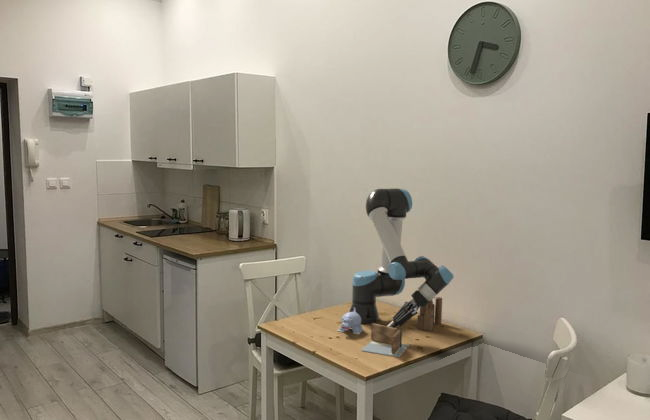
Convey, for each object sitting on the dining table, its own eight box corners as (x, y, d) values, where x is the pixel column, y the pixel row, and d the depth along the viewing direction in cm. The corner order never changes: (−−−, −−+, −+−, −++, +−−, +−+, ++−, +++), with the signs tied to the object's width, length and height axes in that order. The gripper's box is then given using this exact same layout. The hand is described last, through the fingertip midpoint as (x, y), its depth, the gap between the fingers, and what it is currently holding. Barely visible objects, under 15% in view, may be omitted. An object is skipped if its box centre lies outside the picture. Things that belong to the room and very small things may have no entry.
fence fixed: (390, 355, 216) (391, 336, 215) (398, 346, 226) (398, 328, 225) (394, 355, 215) (395, 337, 214) (401, 347, 225) (402, 329, 224)
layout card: (361, 351, 220) (361, 350, 220) (372, 340, 233) (372, 339, 233) (399, 357, 213) (399, 356, 213) (408, 345, 227) (408, 344, 227)
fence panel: (396, 344, 226) (397, 328, 225) (395, 345, 225) (396, 329, 224) (372, 338, 233) (372, 323, 232) (371, 339, 232) (371, 323, 231)
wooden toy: (430, 331, 247) (432, 278, 245) (416, 328, 251) (418, 276, 249) (442, 323, 260) (444, 272, 258) (429, 321, 264) (431, 271, 262)
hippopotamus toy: (332, 335, 239) (333, 314, 238) (343, 325, 253) (344, 306, 252) (356, 338, 236) (356, 317, 235) (365, 328, 250) (366, 308, 249)
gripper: (433, 305, 226) (393, 344, 226) (424, 297, 239) (386, 334, 238) (422, 293, 225) (381, 332, 225) (413, 286, 238) (375, 323, 237)
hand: (384, 333), depth 231 cm, fingers closed
